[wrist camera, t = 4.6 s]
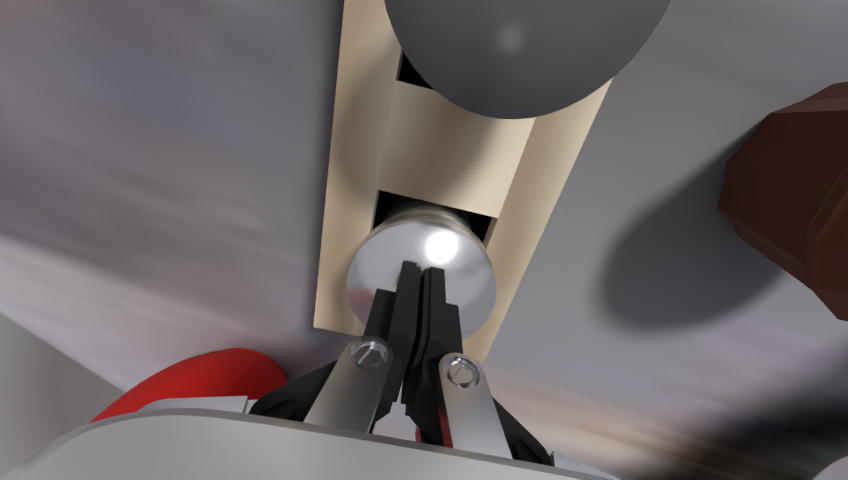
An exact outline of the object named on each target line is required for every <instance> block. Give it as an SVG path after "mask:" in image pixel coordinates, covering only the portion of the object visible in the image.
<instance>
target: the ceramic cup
mask: <svg viewBox="0 0 848 480" xmlns="http://www.w3.org/2000/svg"><path fill="white" fill-rule="evenodd" d="M286 384H288V383H287V380H286V376H285V374H284V372H283V370H282V369H281V368H280V366H279V365H278V364H277V363H276V362H274V361H273V360H272V359H270V358H269V357H267V356H265V355H263V354H261V353H259V352H256V351H253V350H249V349H243V348H231V349H226V350H222V351H218V352H212V353H207V354H203V355H199V356H195V357H192V358H189V359H186V360H183V361H180V362H178V363H176V364H174V365H172V366H169V367H168V368H166V369H164V370H162V371H160V372H158V373H156V374H154V375H153V376H151V377H149V378H147V379H146V380H144V381H143V382H141V383H140V384H138V385H137V386H135V387H134V388H132V389H131V390H129V391H128V392H127V393H125V394H124V395H123V396H121V397H120V398H119V399H118V400H116V401H115V402H114V403H113V404H111V405H110V406H109V407H108V408H106V409H105V410H104V411H103V412H102V413H100V414H99V415H98V416H97V417H96V418H94V419H93V420H92V421H91V422H90V423H93V422H96V421H99V420H102V419H106V418H110V417H114V416H118V415H122V414H128V413H133V412H136V411H137V410H139V409H140V408H142V407H143V406H145V405H147V404H150V403H152V402H154V401H157V400H163V399H170V398H198V397H227V396H248V400H258V399H259V398H260V397H262V396H264V395H265V394H267V393H269V392H271V391H273V390H275V389H277V388H279V387H281V386H283V385H286Z"/></svg>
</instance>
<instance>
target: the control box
mask: <svg viewBox="0 0 848 480" xmlns="http://www.w3.org/2000/svg"><path fill="white" fill-rule="evenodd" d="M403 54H404V51H403V50H402V48H401V46H400V43H399V41H398V39H397V37H396V35H395V33H394V31H393V28H392V25H391V22H390V19H389V17H388V14H387V11H386V7H385V2H384V0H344V11H343V21H342V32H341V42H340V53H339V63H338V74H337V84H336V95H335V105H334V116H333V126H332V137H331V147H330V158H329V168H328V178H327V189H326V199H325V210H324V220H323V231H322V241H321V252H320V262H319V273H318V283H317V294H316V304H315V315H314V325H313V327H315V328H320V329H325V330H330V331H335V332H340V333H345V334H349V335H354V336H363V334H364V331H365V326H364V325H363V324H362V323H361V322H360V320H359V319H358V318H357V317H356V315H355V313H354V312H353V310H352V308H351V305H350V303H349V300H348V296H347V288H346V283H347V275H348V271H349V268H350V265H351V263H352V261H353V259H354V257H355V255H356V253H357V251H358V249H359V247H360V245H361V243H362V242H363V240H364V239H365V238H366V236H367V235H368V234H369V233H370V232H371V231H372V230H373V224H374V219H375V213H376V207H377V202H378V196H379V190H382V191H386V192H390V193H394V194H399V195H403V196H407V197H411V198H415V199H420V200H424V201H428V202H432V203H436V204H441V205H445V206H449V207H453V208H457V209H462V210H466V211H470V212H474V213H478V214H483V215H487V216H491V217H492V219H491V222H490V225H489V227H488V230H487V233H486V236H485V238H484V241H483V245H484V246H485V248H486V250H487V252H488V255H489V258H490V261H491V264H492V267H493V271H494V274H495V277H496V284H497V295H496V301H495V304H494V307H493V310H492V312H491V314H490V316H489V317H488V319H487V320H486V322H485V323H484V324H483V325H482V326H481V327H480V328H479V329H478V330H477V331H476V332H475V333H474V334H472V335H471V336H469V337H468V338H466V339H464V340H462V346H463V354H465V355H467V356H469V357H471V358H472V359H474V360H476V361H481V362H484V361H485V358H486V356H487V354H488V352H489V350H490V347H491V345H492V343H493V341H494V339H495V336H496V334H497V332H498V330H499V327H500V325H501V323H502V321H503V319H504V316H505V314H506V312H507V310H508V308H509V305H510V303H511V301H512V299H513V297H514V294H515V292H516V290H517V288H518V286H519V283H520V281H521V279H522V277H523V275H524V272H525V270H526V268H527V266H528V264H529V261H530V259H531V257H532V255H533V253H534V250H535V248H536V246H537V244H538V242H539V239H540V237H541V235H542V233H543V231H544V228H545V226H546V224H547V222H548V220H549V217H550V215H551V213H552V211H553V209H554V206H555V204H556V202H557V200H558V198H559V195H560V193H561V191H562V189H563V187H564V184H565V182H566V180H567V178H568V176H569V173H570V171H571V169H572V167H573V164H574V162H575V160H576V158H577V156H578V153H579V151H580V149H581V147H582V145H583V142H584V140H585V138H586V136H587V134H588V131H589V129H590V127H591V125H592V123H593V120H594V118H595V116H596V114H597V112H598V109H599V107H600V105H601V103H602V101H603V98H604V96H605V94H606V92H607V90H608V87H609V85H610V83H611V81H612V79H613V78H611V79H610V80H609V81H608V82H607V83H605V84H604V85H603V86H602V87H601V88H599V89H598V90H596V91H595V92H593V93H592V94H590V95H589V96H587V97H586V98H584V99H582V100H580V101H578V102H576V103H574V104H572V105H570V106H569V107H567V108H564V109H561V110H558V111H556V112H553V113H550V114H547V115H542V116H538V117H534V118H525V119H497V118H492V117H486V116H482V115H479V114H476V113H473V112H470V111H467V110H465V109H463V108H461V107H459V106H457V105H455V104H453V103H452V102H450V101H449V100H447V99H446V98H444V97H443V96H442V95H440V94H439V93H437V92H436V91H435V90H432V89H428V88H425V87H421V86H417V85H413V84H409V83H406V82H402V81H399V77H400V71H401V66H402V60H403Z"/></svg>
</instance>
